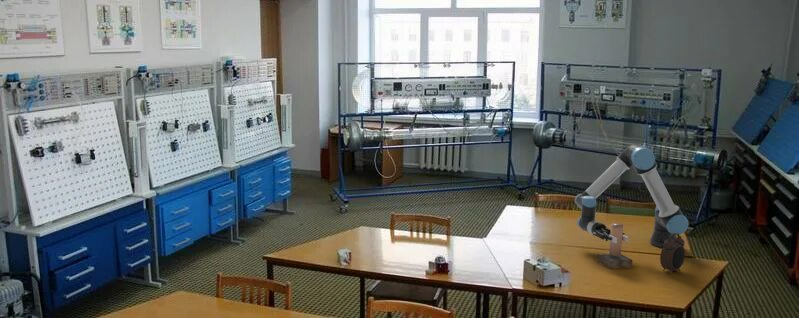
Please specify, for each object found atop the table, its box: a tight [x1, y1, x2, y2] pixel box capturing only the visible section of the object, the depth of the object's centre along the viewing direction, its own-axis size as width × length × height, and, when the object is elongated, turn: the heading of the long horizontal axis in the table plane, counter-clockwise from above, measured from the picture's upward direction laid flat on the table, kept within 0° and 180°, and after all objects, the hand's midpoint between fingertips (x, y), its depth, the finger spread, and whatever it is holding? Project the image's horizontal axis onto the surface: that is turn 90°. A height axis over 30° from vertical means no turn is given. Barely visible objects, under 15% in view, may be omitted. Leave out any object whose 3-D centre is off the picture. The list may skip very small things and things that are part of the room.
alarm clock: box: [659, 233, 686, 275], centre depth 363 cm, size 15×7×20 cm, turn 129°
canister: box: [608, 222, 624, 256], centre depth 373 cm, size 6×6×16 cm
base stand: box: [596, 253, 633, 270], centre depth 375 cm, size 13×12×4 cm
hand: (621, 240), depth 368 cm, fingers closed on canister, 6 cm apart
